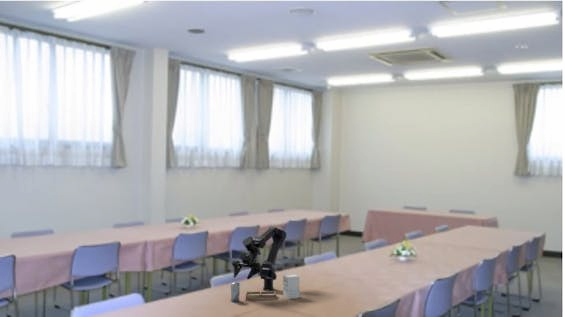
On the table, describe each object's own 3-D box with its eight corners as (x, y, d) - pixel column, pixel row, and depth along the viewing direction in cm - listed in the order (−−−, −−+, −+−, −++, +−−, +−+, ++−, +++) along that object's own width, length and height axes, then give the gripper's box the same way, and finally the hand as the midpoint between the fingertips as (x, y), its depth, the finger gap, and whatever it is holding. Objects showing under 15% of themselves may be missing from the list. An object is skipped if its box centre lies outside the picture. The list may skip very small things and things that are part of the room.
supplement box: (293, 295, 300) (294, 273, 301) (299, 298, 294) (299, 276, 294) (282, 296, 297) (282, 274, 298) (288, 299, 290) (288, 277, 291)
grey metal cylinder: (230, 300, 288) (231, 282, 289) (239, 300, 289) (239, 282, 289) (230, 302, 284) (230, 283, 284) (239, 302, 284) (239, 283, 284)
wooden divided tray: (245, 296, 298) (245, 291, 298) (275, 295, 299) (275, 291, 299) (245, 299, 289) (245, 295, 289) (276, 299, 290) (276, 294, 290)
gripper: (233, 246, 301) (221, 268, 291) (260, 248, 292) (248, 271, 282) (240, 258, 308) (229, 279, 298) (267, 260, 298) (256, 283, 288)
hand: (240, 278), depth 291 cm, fingers open, 9 cm apart
